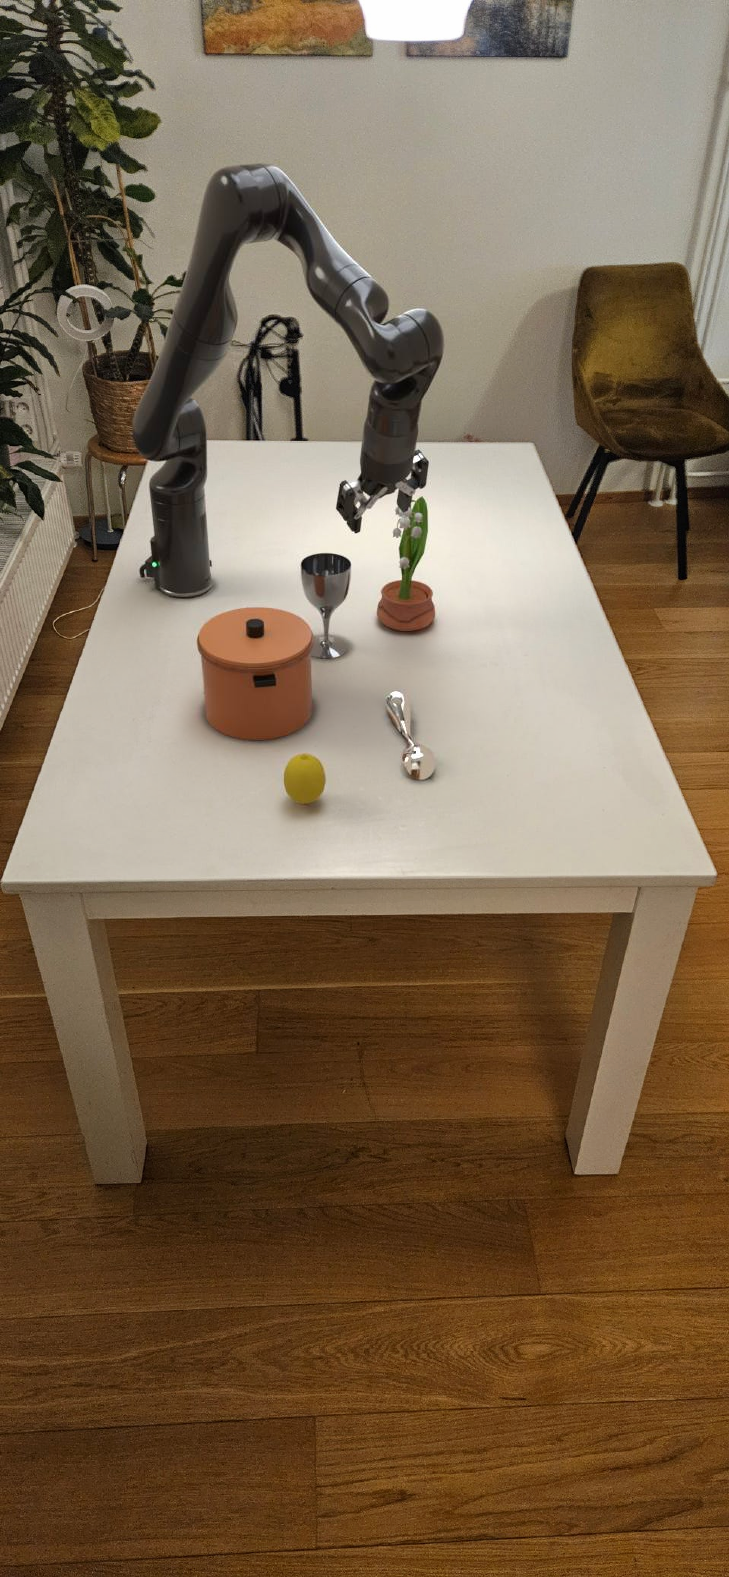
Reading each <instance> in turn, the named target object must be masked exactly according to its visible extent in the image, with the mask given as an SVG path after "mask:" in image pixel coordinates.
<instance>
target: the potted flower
mask: <svg viewBox="0 0 729 1577" xmlns="http://www.w3.org/2000/svg"><path fill="white" fill-rule="evenodd" d="M411 503H414V504H413V507H412V504H411V505H410V507H409V508H408V511H407V512H404V513H403V512H402V511H401V510H400V508H399V507H398V506H396V508H395V509H394V512H395V514H394V515H395V516H398V517H399V518H398V520H397V523H396V527H395V528H394V529H393V530H392V534H393V535H392V538H396V539H399V537H400V542H399V546H398V556H399V561H398V563H399V566H398V568H400V572H401V579H398V580H394V581H390V582H388V583H386V584H385V585H383V587H382V588H381V590H380V595H381V598H380V599H379V601H378V603H377V608H376V616H377V618H378V619H379V620H380V622H381V624H383V625H384V626H386V627H388V628H390V629H393V630H395V631H401V632H412V631H419V630H422V629H424V628H426V627H428V626H429V625H430V624H431V623H432V621H433V620H435V617H436V608H435V607H436V606H435V604H434V602H433V599H432V598H433V595H434V592H433V589H432V588H431V587H430V586H429V585H428V584H426V583H424V582H421V581H417V580H412V578H413V576H414V573H415V570H416V568H417V566H418V565H419V563H420V561H421V559H422V558H423V556H424V554H425V550H426V544H427V540H428V539H427V538H428V532H429V511H428V504H427V501H426V499H425V498H424V496H423V495H421V496H420V497H418V498H417V499H412V501H411ZM401 529H403V530H401ZM401 533H402V534H401Z"/></svg>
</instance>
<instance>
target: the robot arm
mask: <svg viewBox="0 0 729 1577" xmlns="http://www.w3.org/2000/svg"><path fill="white" fill-rule="evenodd" d="M198 217H199V218H198V221H197V225H196V230H195V236H194V240H193V245H192V250H191V254H190V258H189V262H188V265H187V268H186V272H185V275H184V279H183V283H182V285H181V288H180V291H179V294H178V297H177V300H176V302H175V305H174V307H173V311H172V314H171V317H170V321H169V324H168V327H167V330H166V334H165V338H164V341H163V344H162V346H161V350H160V352H159V355H158V358H157V361H156V363H155V366H154V369H153V371H152V374H151V376H150V379H149V381H148V383H147V385H146V387H145V389H144V391H143V393H142V396H141V398H140V400H139V401H138V404H137V406H136V407H135V408H136V409H135V411H134V414H133V416H132V417H133V418H132V424H131V425H132V426H131V433H132V440H133V444H134V446H135V449H136V450H137V453H139V455H140V456H141V457H142V458H144V459H145V460H147V461H149V462H154V463H155V462H157V463H158V462H159V463H160V462H164V463H163V465H161V467H160V468H159V469H158V470H157V471H156V472H154V473H153V474H152V476H151V477H150V479H149V483H148V488H149V489H148V490H149V497H150V498H149V499H150V508H151V516H152V517H151V518H152V526H153V534H154V535H152V537H150V539H149V542H150V543H149V544H150V554H151V555H150V556H149V557H148V558H147V559H146V560H145V561H144V564H141V566H140V567H139V570H138V571H139V572H138V573H139V577H140V578H141V579H144V578H150V579H153V583H154V589H155V590H158V591H159V590H160V591H161V592H162V593H163V594H165V595H166V596H170V597H174V598H192V597H197V596H200V595H204V594H205V593H207V592H208V591H209V590H211V588H212V586H213V582H212V573H211V568H212V567H213V562H212V560H211V559H210V546H209V532H208V519H207V504H206V492H205V486H206V483H207V479H208V434H207V433H208V432H207V425H206V420H205V416H204V413H203V411H202V409H201V407H200V405H199V404H198V402H197V401H196V400H195V399H194V398H193V395H194V394H196V392H197V391H199V389H200V388H202V386H203V385H204V384H205V383H206V382H207V381H208V380H209V379H210V378H211V377H212V376H213V374H214V373H216V371H217V370H218V369H219V367H220V366H221V365H222V363H223V361H224V360H225V358H226V356H227V353H228V351H229V349H230V346H231V344H232V341H233V338H234V336H235V333H236V330H237V327H238V318H239V316H238V315H239V314H238V308H237V303H236V299H235V296H234V292H233V290H232V287H231V283H230V276H231V272H232V269H233V266H234V262H235V260H236V257H237V256H238V253H239V251H240V249H241V248H242V247H243V246H245V245H248V244H254V243H255V244H256V243H262V242H268V241H269V242H270V241H272V240H273V241H277V242H278V243H280V244H281V245H283V246H285V247H287V248H288V249H289V251H291V252H293V254H295V256H296V257H297V258H298V259H299V261H300V263H301V269H302V274H303V278H304V282H305V285H306V288H307V290H308V292H309V294H310V296H311V298H312V299H313V301H315V303H316V304H317V305H318V306H319V307H320V308H321V310H322V311H324V312H325V314H326V315H327V316H328V317H329V318H331V320H332V321H334V322H335V323H336V324H337V325H338V326H339V327H340V328H341V329H342V330H343V331H344V333H345V334H346V336H347V338H348V340H349V341H350V343H351V345H352V347H353V348H354V350H355V352H356V354H357V356H358V357H359V360H360V362H361V364H362V365H363V367H364V369H365V371H366V372H367V374H368V375H369V376H370V377H371V379H373V382H372V384H371V387H370V389H369V395H368V404H367V411H366V412H367V413H366V417H365V421H364V423H363V424H364V425H363V432H362V441H361V446H360V447H361V448H360V456H359V466H360V467H359V468H360V474H359V476H358V477H357V480H356V481H353V482H350V483H349V482H348V481H347V480H345V479H344V480H342V481H341V482H340V483H339V486H338V493H337V499H336V506H335V510H336V511H337V512H338V514H339V515H340V516H341V517H342V519H343V521H345V522H346V525H347V527H348V528H349V529H350V531H351V533H352V532H353V533H354V534H359V533H360V532H361V530H362V521H363V515H364V514H365V512H366V511H367V510H370V509H372V508H373V506H374V505H375V504H376V502H377V501H378V500H380V499H382V498H383V497H386V496H387V495H391V494H394V493H395V492H396V490H398V491H397V497H396V505H397V507H399V508H400V510H401V511H402V512H403V513H404V512H407V511H408V508H409V507H410V505H411V506H412V502H411V501H412V500H413V496H414V495H415V494H416V490H418V489H420V490H423V489H424V488H425V487H426V486H427V481H428V471H429V466H430V461H429V459H428V458H427V457H426V456H425V455H424V454H423V452H422V451H421V450H420V449H417V444H418V437H419V422H420V416H421V410H422V404H423V399H424V398H425V396H426V394H427V393H428V391H429V389H430V387H431V385H432V382H433V380H434V378H435V376H436V375H437V372H438V370H439V368H440V365H441V363H442V360H443V356H444V351H445V335H444V330H443V328H442V325H441V323H440V321H439V319H438V318H437V316H435V314H434V313H432V312H431V311H430V310H427V309H425V308H412V309H410V310H407V311H405V312H403V313H401V314H399V315H397V316H395V317H394V318H391V319H390V320H387V321H385V322H384V320H386V317H387V315H388V312H389V308H390V299H389V295H388V293H387V291H386V290H385V288H383V286H382V285H381V284H379V282H378V281H377V280H375V279H374V278H373V277H372V276H371V275H370V274H369V273H368V272H367V271H366V270H364V268H362V266H361V265H360V264H358V263H357V262H356V261H355V259H353V258H352V256H350V255H349V254H348V253H347V252H346V251H345V250H344V248H342V247H341V245H340V244H339V243H338V242H337V241H336V240H335V239H334V237H333V236H332V234H331V233H330V231H328V229H327V228H326V226H325V225H324V224H323V222H322V221H321V219H320V218H319V217H318V215H317V214H316V212H315V211H314V210H313V209H312V207H311V205H309V203H308V202H307V201H306V199H305V197H304V196H303V195H302V193H301V192H300V191H299V188H297V186H296V185H295V184H294V182H292V180H291V179H290V178H289V177H288V175H287V174H286V173H285V172H284V171H283V170H281V169H280V168H279V167H277V166H276V165H273V164H271V163H247V164H236V165H228V166H223V167H221V168H219V169H217V170H216V171H215V172H214V173H213V174H212V175H211V177H210V179H209V181H208V182H207V184H206V188H205V190H204V194H203V197H202V202H201V206H200V211H199V216H198ZM383 322H384V323H383ZM409 475H410V478H408V477H409ZM364 493H365V494H366V495H367V496H368V498H367V497H366V496H365V494H364ZM358 503H359V507H357V504H358Z"/></svg>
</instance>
